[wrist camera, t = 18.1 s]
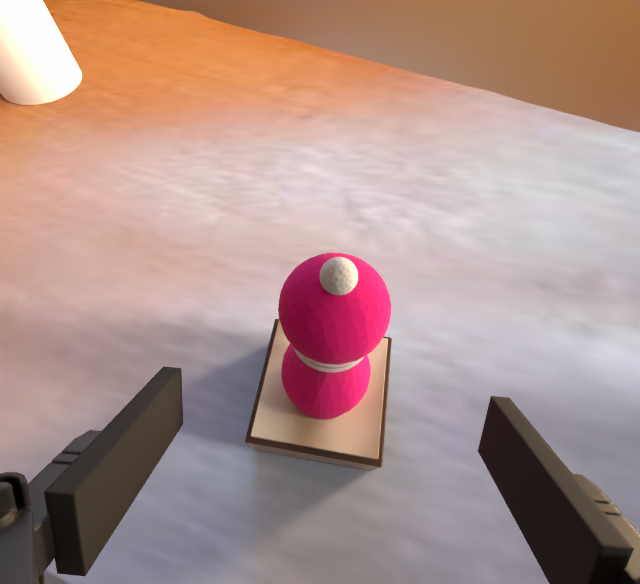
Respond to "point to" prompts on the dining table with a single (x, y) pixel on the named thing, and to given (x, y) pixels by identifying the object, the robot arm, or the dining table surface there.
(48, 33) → the canister
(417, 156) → the dining table surface
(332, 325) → the pepper mill
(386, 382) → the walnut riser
